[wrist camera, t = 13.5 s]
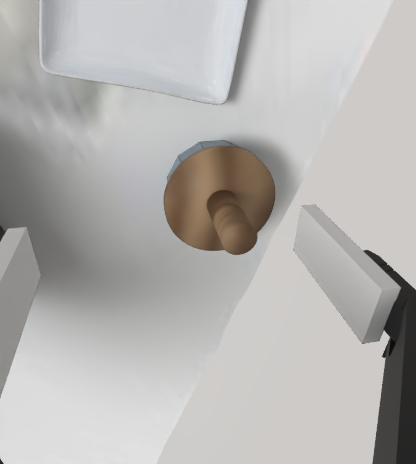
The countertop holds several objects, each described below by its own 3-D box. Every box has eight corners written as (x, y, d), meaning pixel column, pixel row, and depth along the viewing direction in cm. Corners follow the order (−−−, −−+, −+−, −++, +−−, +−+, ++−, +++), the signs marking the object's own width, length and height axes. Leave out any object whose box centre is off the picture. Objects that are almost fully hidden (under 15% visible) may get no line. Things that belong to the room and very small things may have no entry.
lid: (166, 251, 49) (175, 299, 41) (160, 148, 41) (168, 181, 33) (266, 240, 52) (294, 284, 43) (277, 142, 44) (314, 171, 35)
